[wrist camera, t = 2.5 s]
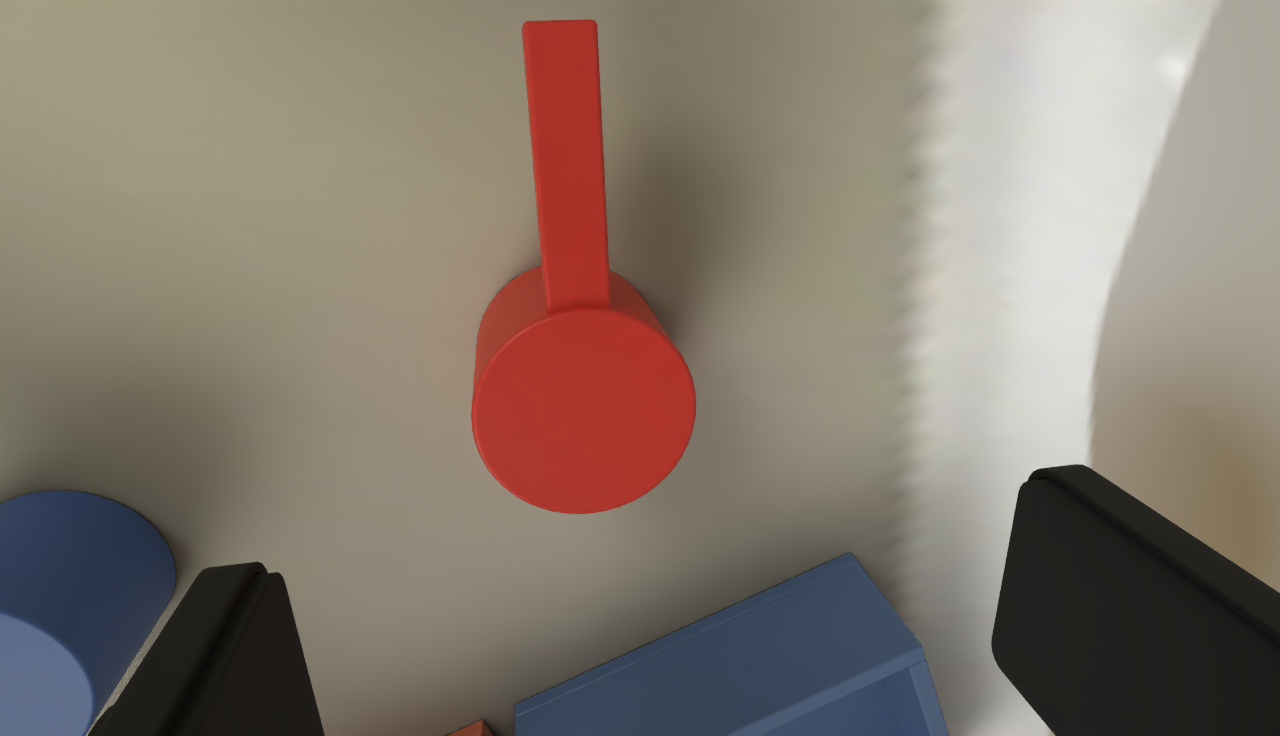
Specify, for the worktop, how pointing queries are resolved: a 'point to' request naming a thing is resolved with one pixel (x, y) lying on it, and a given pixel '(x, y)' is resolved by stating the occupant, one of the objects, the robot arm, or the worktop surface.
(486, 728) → the red bin
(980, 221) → the worktop surface
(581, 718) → the blue bin
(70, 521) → the blue scoop
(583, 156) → the red scoop
